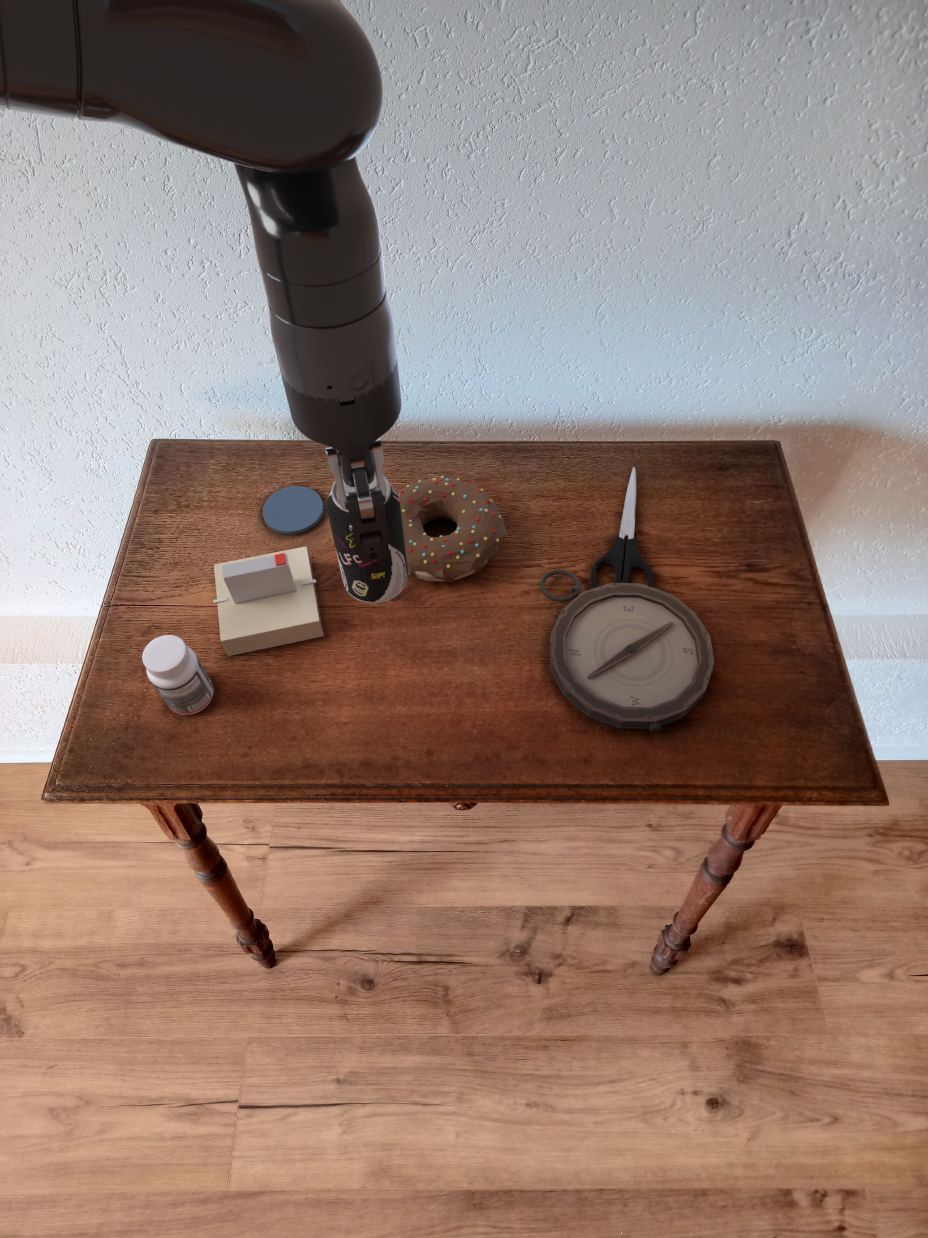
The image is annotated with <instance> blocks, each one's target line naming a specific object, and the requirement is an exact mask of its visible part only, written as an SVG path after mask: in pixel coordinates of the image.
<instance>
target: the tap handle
mask: <svg viewBox="0 0 928 1238" xmlns="http://www.w3.org/2000/svg"><path fill="white" fill-rule="evenodd" d="M222 572H223V579H224V581H225V583H226V586H227V588H228V590H229V592H230V595H231V597H232V599H233V601H234V603H240V602H245V601H250V600H255V599H260V598H265V597H269V596H274V595H279V594H284V593H289V592H294V591H297V588H296V582H295V577H294V574H293V571H292V568H291V565H290V562H289V559H288V556H287V553H281V554H276V555H274V556H269V557H264V558H259V559H254V560H250V561H245V562H240V563H235V564H230V565H225V566H222Z"/></svg>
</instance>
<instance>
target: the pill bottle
mask: <svg viewBox="0 0 928 1238" xmlns="http://www.w3.org/2000/svg"><path fill="white" fill-rule="evenodd" d="M141 657H142V663H143V665H144V667H145V668H146V669H145V671H146V676H147V678H148V680H149V682H151V684H152V685H153V687H154V688H155V690H156V691H157V692H158V694H159V695H160V697H161V698H162V699H163V701H164V702H165V704H166V706H167V707H168V708H169V709H170V710H171V711H172V712H174V713H176V714H178V715H183V716H190V715H195V714H197V713H200V712H201V711H203V710H204V709H205V708H207V706H208V705H209V704H210V702H211V701H212V699H213V696H214V693H215V691H214V690H215V688H214V684H213V681H212V680H211V678H210V677H209V675H208V673H207V671H206V669H205V668H204V666H203V665H202V663H201V660H200V659H199V657H198V656H197V654H196V653H195V651H194V650H193V649H192V648H191V647H189V646H188V645H187V644H186V643H185V641H184V640H183V639H182V638H180V637H179V636H176V635H173V634H164V635H161V636H157V637H155V638H154V639H152V640H150V641H149V643H147V645H145V647H144V649H143V652H142V655H141Z"/></svg>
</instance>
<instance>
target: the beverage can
mask: <svg viewBox="0 0 928 1238" xmlns="http://www.w3.org/2000/svg"><path fill="white" fill-rule="evenodd" d="M341 475H342V480H343V485H344V489H345V490H346V491H347V492H356V489H355V487H349V486H348V485H346V483H345V482H344V478H343V473H341ZM383 475H384V481H385V487H386V494H387V500H386V502H384V506H385V514H386V523H387V531H389V535H390V538H388V540H389V543H388V544H386V550H387V556H386V557H385V558H383V559H380V560H374V561H369V562H362V561H360V560H359V555H358V550H357V549H356V547H355V544H354V545H353V543H352V538H354V537H353V531H352V532H350V527H349V525H351V521H350V516H349V512H348V511H347V510H345V509H343V508H342V507H341V506H340V501H339V496H338V491H337V486H336V481H335V480H334V481H333V483H332V486H331V491H330V493H329V495H328V497H327V501H326V512H327V516H328V522H329V525H330V529H331V535H332V537H333V538H332V540H333V543H334V544H333V545H334V547H335V553H336V557H337V560H338V561H337V562H338V565H339V569H340V570H339V571H340V574H341V579H342V583H343V586H344V588H345V590H346V592H347V593H348V594H349V595H350V596H351V597H352V598H354V599H355V600H356V601H359V602H362V603H366V604H381V603H385V602H388V601H391V600H392V599H395V598H396V597H397V596H398V595H400V594H401V592H402V591H404V589H405V587H406V586H407V583H408V579H409V574H408V568H407V559H406V550H405V541H404V532H403V523H402V514H401V505H400V499H399V495H398V493H397V491H398V490H397V489H396V488H395V486H394V485H392V483H391V482H390V481H389V478H388V477H387V476H386V475H385V474H384V473H383ZM376 484H377V481H376V475H375V476H374V480H373V482H372V483H371V484H369V488H370V489H373V488H374V487H375V486H376Z"/></svg>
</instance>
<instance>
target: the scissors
mask: <svg viewBox="0 0 928 1238" xmlns="http://www.w3.org/2000/svg"><path fill="white" fill-rule="evenodd" d="M636 471H637V470H636V467H635V466H633V467H632V469H631V473H630V477H629V480H628V484H627V489H626V494H625V499H624V503H623V505H624V506H623V510H622V516H621V521H620V527H619V535H616V536H615V538H614V542H613V545H612V546H611V547H610V549H609V550H608V551H607V552H606V553H604V555H602V556H601V557H599V558H598V559H597V560H596V561H595V562H594V563H593V565H592V567H591V571H590V586H591V589H593V588H596V587H599V585H598V581H597V577H596V575H597V574H596V573H597V571H598V569H599V568H600V567H601V566H603V565H610V566H611V567H613V569H614V583H629V579H630V573H631V572H632V569H635V568H636V569H637V568H639V569H641V570H643V571H644V572H645V575H646V577H647V586H650V587H653V586H654V581H655V580H654V579H655V577H654V571H653V569H652V567H651V565H649V564H648V562H647V561H646V560H645V559H644V558H643V555H642V554H641V553H640V550H639V547H638V538H637V537H635V525H636V506H637V504H636V503H637V474H636V473H637V472H636ZM625 537H627V539H625ZM625 542H626V543H625ZM624 552H625V553H624ZM623 560H624V561H623ZM622 570H623V572H622Z"/></svg>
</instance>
